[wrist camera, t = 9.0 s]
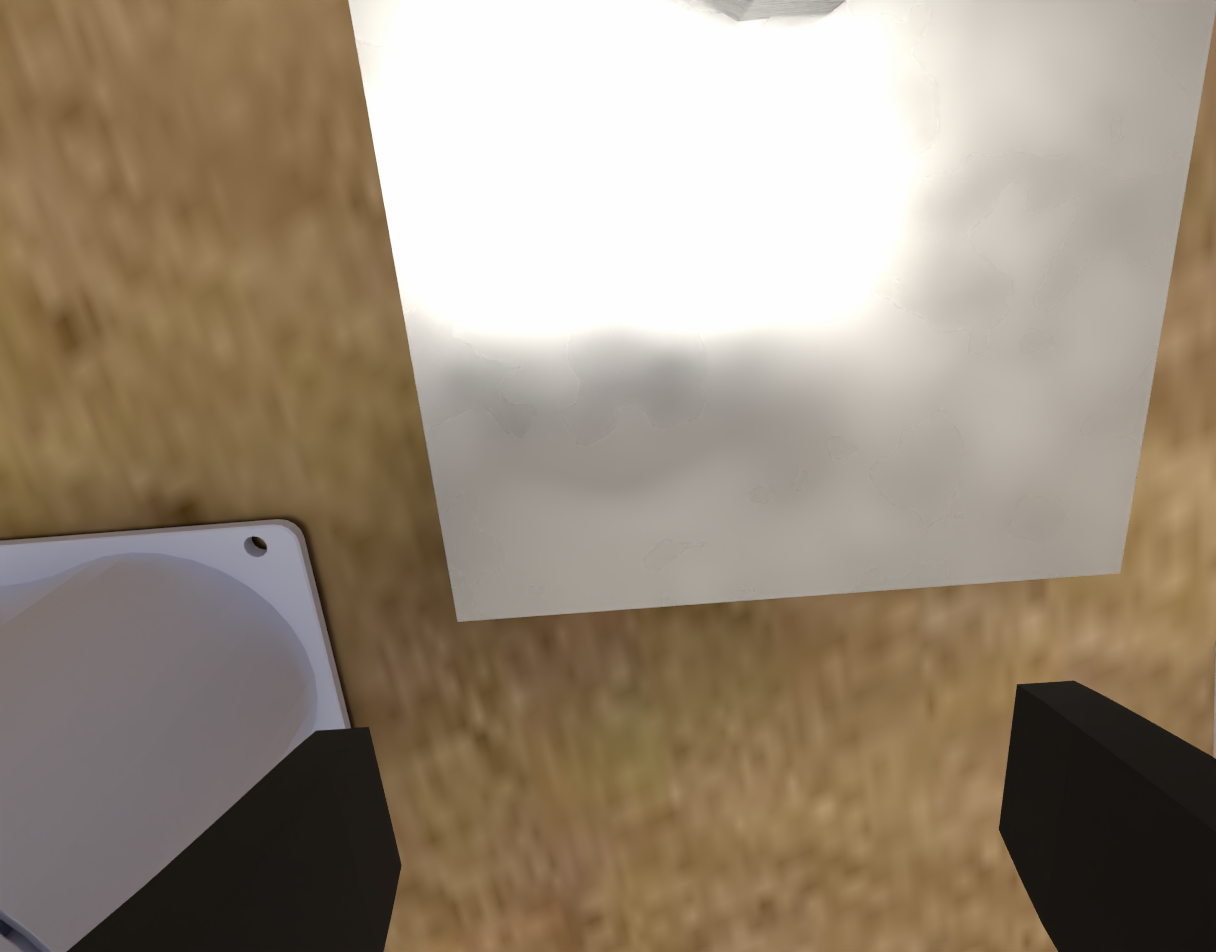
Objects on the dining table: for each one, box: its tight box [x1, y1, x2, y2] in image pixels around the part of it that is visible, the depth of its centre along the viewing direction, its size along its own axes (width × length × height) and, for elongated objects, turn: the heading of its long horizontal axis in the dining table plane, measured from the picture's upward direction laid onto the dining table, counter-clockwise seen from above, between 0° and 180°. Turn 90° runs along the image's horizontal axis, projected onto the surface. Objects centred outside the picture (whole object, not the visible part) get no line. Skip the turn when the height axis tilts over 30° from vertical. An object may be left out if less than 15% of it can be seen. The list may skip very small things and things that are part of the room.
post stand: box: [349, 0, 1216, 622], centre depth 12 cm, size 15×21×6 cm
